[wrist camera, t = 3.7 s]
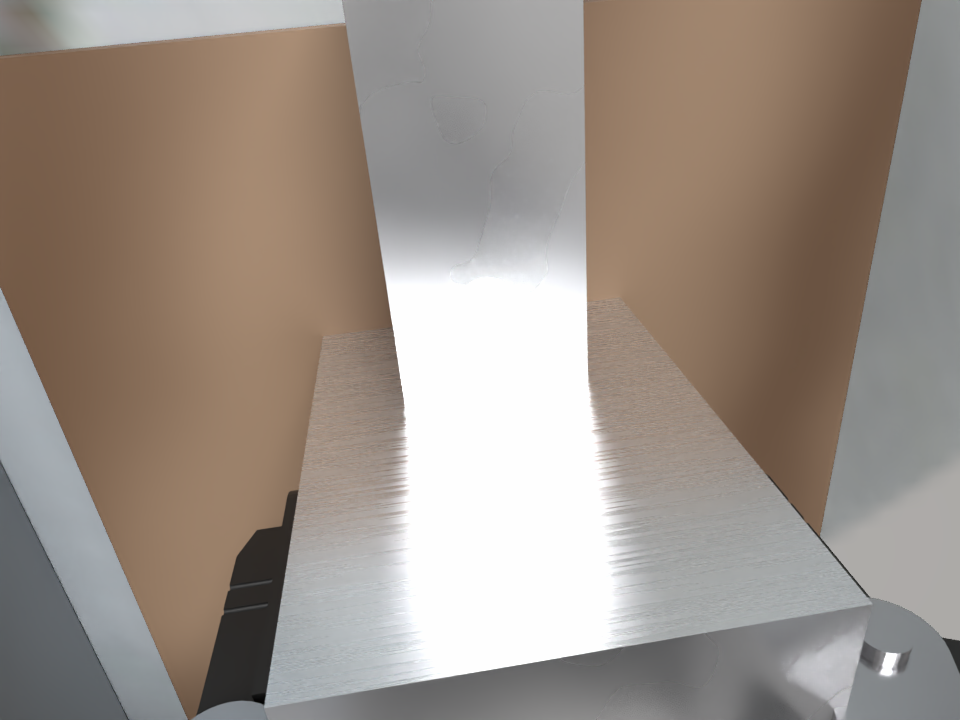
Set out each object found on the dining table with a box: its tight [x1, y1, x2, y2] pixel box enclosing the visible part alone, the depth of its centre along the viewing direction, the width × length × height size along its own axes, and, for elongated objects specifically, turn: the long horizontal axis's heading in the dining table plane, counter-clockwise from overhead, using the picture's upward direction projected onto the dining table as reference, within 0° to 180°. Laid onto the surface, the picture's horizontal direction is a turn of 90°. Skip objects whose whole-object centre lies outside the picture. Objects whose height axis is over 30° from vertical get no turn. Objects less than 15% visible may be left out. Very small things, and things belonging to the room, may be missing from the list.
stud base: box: [0, 0, 922, 720], centre depth 11 cm, size 14×14×6 cm
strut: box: [264, 0, 873, 720], centre depth 10 cm, size 16×5×7 cm, turn 5°
